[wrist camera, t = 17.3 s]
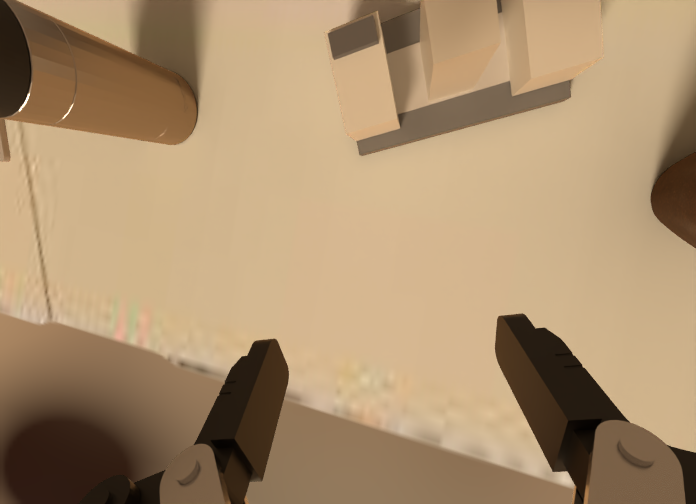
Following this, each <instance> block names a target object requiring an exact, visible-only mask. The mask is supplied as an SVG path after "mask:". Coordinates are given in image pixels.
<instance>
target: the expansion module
mask: <svg viewBox="0 0 696 504" xmlns="http://www.w3.org/2000/svg"><path fill="white" fill-rule="evenodd" d="M500 43H501V38H500V29H499V20H498V10H497V1H496V0H421V4H420V51H421V57H422V64H423V70H424V77H425V83H426V90H427V96H428V102H430V101H434V100H437V99H440V98H444V97H447V96H451V95H454V94H457V93H461V92H464V91H468V90H471V89H474V87H475V85H476V83H477V82H478V80H479V78H480V77H481V75H482V73H483V72H484V70H485V68H486V67H487V65H488V63H489V62H490V60H491V58H492V56H493V55H494V53H495V51H496V50H497V48H498V46H499V45H500Z"/></svg>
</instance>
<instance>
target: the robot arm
mask: <svg viewBox="0 0 696 504" xmlns="http://www.w3.org/2000/svg"><path fill="white" fill-rule="evenodd" d="M196 117H197V106H196V101H195V97H194V95H193V92H192V90H191V88H190V87H189V85H188V83H187V82H186V81H185V80H184V79H183V78H182V77H180V76H179V75H178V74H176V73H174V72H172V71H169V70H167V69H165V68H163V67H161V66H159V65H156V64H154V63H152V62H150V61H148V60H146V59H144V58H142V57H139V56H137V55H135V54H133V53H131V52H128V51H126V50H124V49H122V48H120V47H118V46H115V45H113V44H111V43H109V42H107V41H104V40H102V39H100V38H98V37H96V36H93V35H91V34H89V33H87V32H85V31H83V30H80V29H78V28H76V27H74V26H72V25H69V24H67V23H65V22H63V21H61V20H59V19H56V18H54V17H52V16H50V15H48V14H45V13H43V12H41V11H39V10H36V9H34V8H32V7H30V6H28V5H25V4H23V3H21V2H19V1H17V0H0V118H1V119H7V120H13V121H20V122H26V123H33V124H39V125H46V126H53V127H59V128H66V129H72V130H78V131H85V132H91V133H98V134H104V135H110V136H117V137H123V138H129V139H136V140H141V141H148V142H154V143H161V144H167V145H176V144H179V143H181V142H183V141H184V140H186V139H187V138H188V137H189V136H190V134H191V133H192V131H193V129H194V126H195V123H196ZM495 352H496V357H497V361H498V364H499V366H500V368H501V370H502V372H503V374H504V376H505V378H506V380H507V382H508V384H509V386H510V388H511V390H512V392H513V394H514V396H515V398H516V400H517V402H518V404H519V406H520V408H521V409H522V411H523V413H524V415H525V417H526V419H527V421H528V423H529V425H530V427H531V429H532V431H533V433H534V435H535V437H536V439H537V441H538V443H539V445H540V447H541V449H542V451H543V453H544V455H545V457H546V459H547V461H548V463H549V465H550V467H551V469H552V471H553V472H561V471H568V473H569V475H570V477H571V478H572V480H573V482H574V484H575V486H574V491H573V498H572V504H696V453H694V452H690V451H686V450H681V449H678V448H674V447H671V446H668V445H666V444H665V443H664V442H663V441H662V440H660V439H659V438H658V437H657V436H655V435H654V434H652V433H651V432H649V431H647V430H646V429H644V428H642V427H640V426H637V425H635V424H632V423H630V422H629V421H628V420H627V419H626V418H625V417H624V416H623V414H622V413H621V412H620V411H619V410H618V408H617V407H616V406H615V405H614V403H613V402H612V401H611V400H610V398H609V397H608V396H607V395H606V394H605V392H604V391H603V390H602V389H601V387H600V386H599V385H598V384H597V383H596V381H595V380H594V379H593V378H592V376H591V375H590V374H589V373H588V371H587V370H586V369H585V368H583V367H582V364H581V363H580V362H579V360H578V359H577V358H576V357H575V356H573V354H572V352H571V351H570V349H569V348H568V347H567V346H566V344H565V343H564V342H563V341H562V340H561V339H560V338H559V337H557V336H556V335H554V334H553V333H552V332H550V331H549V330H547V329H546V328H536V329H535V327H534V326H533V324H532V323H531V322H530V320H529V319H528V318H527V317H526V315H524V314H514V315H504V316H499V317H498V319H497V329H496V342H495ZM288 379H289V371H288V366H287V363H286V361H285V358H284V356H283V353H282V351H281V349H280V346H279V344H278V341H277V340H276V339H268V340H258V341H255V342H254V343H253V344H252V347H251V349H250V351H249V353H248V356H242V357H241V358H240V359H239V360H238V361H237V363H236V364H235V365H234V366H233V367H232V368H231V370H230V372H229V374H228V376H227V378H226V380H225V385H223V386H222V389H221V391H220V393H219V394H220V395H219V396H218V397H217V399H216V401H215V403H214V405H213V407H212V409H211V411H210V413H209V415H208V418H207V420H206V422H205V424H204V426H203V428H202V430H201V432H200V434H199V436H198V438H197V440H196V442H195V444H194V445H193V446H191V447H189V448H187V449H185V450H184V451H182V452H181V453H180V454H179V455H177V456H176V457H175V458H174V460H173V461H172V462H171V463H170V464H169V466H168V467H167V469H166V470H164V471H162V472H159V473H157V474H154V475H152V476H150V477H147V478H145V479H142V480H140V481H137V482H135V483H133V482H132V481H131V480H129V478H127V477H126V476H124V475H116V476H113V477H110V478H108V479H106V480H104V481H103V482H101V483H99V484H98V485H97V486H96V487H94V488H93V489H92V490H91V491H90V492H89V493H88V494H87V495H86V496H85V497H84V498H83V499H82V500H81V501H80V503H79V504H249V502H248V499H247V497H246V492H247V489H248V486H249V482H255V481H262V480H263V476H264V472H265V468H266V465H267V461H268V457H269V453H270V450H271V446H272V442H273V438H274V434H275V430H276V426H277V422H278V419H279V415H280V411H281V408H282V403H283V400H284V396H285V392H286V388H287V385H288Z"/></svg>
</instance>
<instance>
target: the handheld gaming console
mask: <svg viewBox="0 0 696 504" xmlns="http://www.w3.org/2000/svg"><path fill="white" fill-rule="evenodd" d="M0 161H2V162H9V161H10V151H9V145H8V139H7V132H6V126H5V120H4V119H1V118H0Z"/></svg>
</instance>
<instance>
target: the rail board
mask: <svg viewBox="0 0 696 504" xmlns="http://www.w3.org/2000/svg"><path fill="white" fill-rule="evenodd" d="M496 1H497V10H498V20H499V29H500V38H501V43H500V45H499V46H498V48H497V50H496V51H495V53H494V55H493V56H492V58H491V60H490V62H489V63H488V65H487V67H486V68H485V70H484V72H483V73H482V75H481V77H480V78H479V80H478V82H477V83H476V85H475V87H474V89H471V90H468V91H464V92H461V93H457V94H454V95H451V96H447V97H444V98H440V99H437V100H434V101H430V102H428V96H427V90H426V83H425V77H424V70H423V64H422V57H421V51H420V8H419V9H416V10H414V11H411V12H409V13H406V14H404V15H401V16H399V17H396V18H393V19H391V20H388V21H386V22H383V23H381V24H380V19H379V15H378V11H375V12H373V13H370V14H368V15H365V16H363V17H360V18H358V19H356V20H353V21H351V22H348V23H346V24H343V25H341V26H338V27H336V28H333V29H331V30H329V31H326V32H324V34H325V39H326V43H327V48H328V52H329V57H330V62H331V66H332V71H333V76H334V80H335V85H336V89H337V94H338V99H339V103H340V108H341V113H342V117H343V122H344V126H345V131H346V134H347V135H348V136H350V137H351V138H353V139H354V140H356V141H357V145H358V149H359V154H360V155H361V156H364V155H367V154H371V153H375V152H378V151H382V150H386V149H390V148H393V147H397V146H401V145H404V144H408V143H412V142H415V141H419V140H423V139H426V138H430V137H434V136H437V135H441V134H445V133H449V132H452V131H456V130H460V129H463V128H467V127H471V126H474V125H478V124H482V123H485V122H489V121H493V120H496V119H500V118H504V117H507V116H511V115H515V114H519V113H522V112H526V111H530V110H533V109H537V108H541V107H544V106H548V105H552V104H555V103H559V102H563V101H565V100H567V99H568V98H570V97H571V91H570V80H571V79H572V78H574V77H575V76H577V75H578V74H580V73H581V72H583V71H584V70H586V69H587V68H589V67H590V66H591V65H593V64H594V63H596V62H597V61H599V60H600V59H602V58H603V57H604V54H603V37H602V20H601V4H600V0H496Z"/></svg>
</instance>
